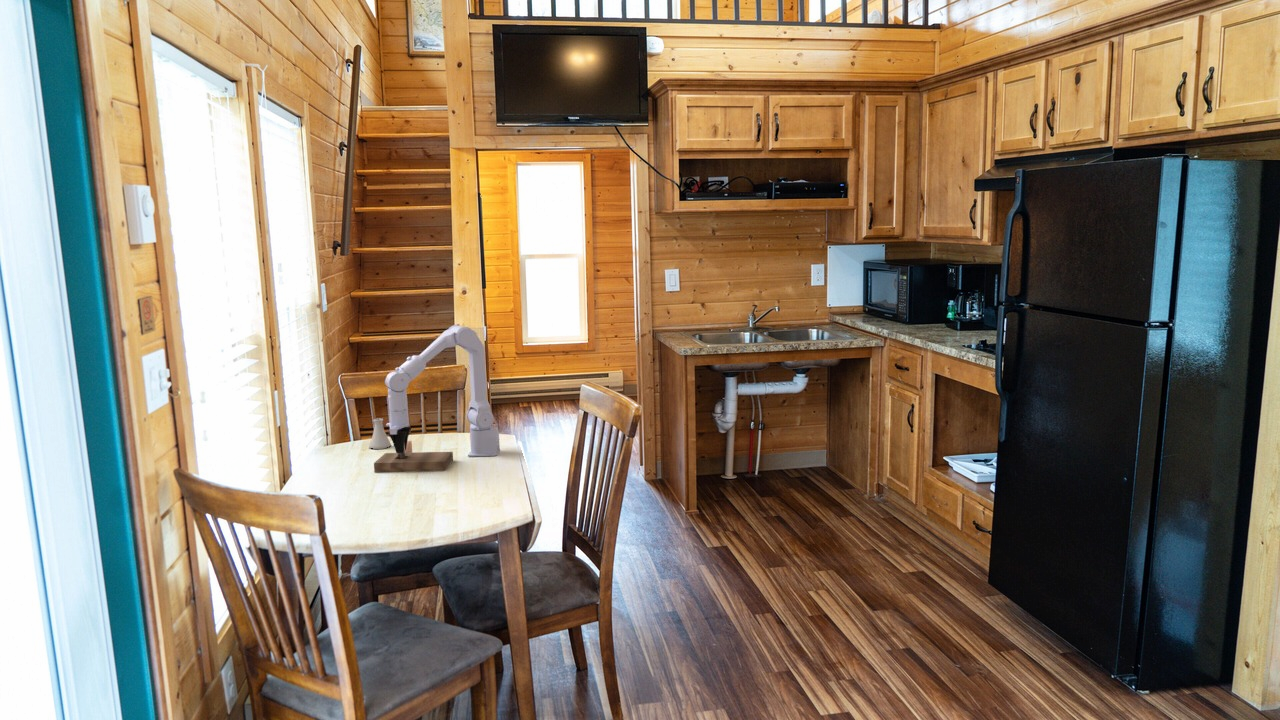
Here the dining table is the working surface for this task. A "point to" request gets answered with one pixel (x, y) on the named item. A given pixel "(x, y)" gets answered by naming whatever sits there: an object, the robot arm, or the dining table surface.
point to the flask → (379, 436)
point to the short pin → (409, 447)
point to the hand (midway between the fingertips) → (401, 451)
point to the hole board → (414, 462)
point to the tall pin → (401, 455)
